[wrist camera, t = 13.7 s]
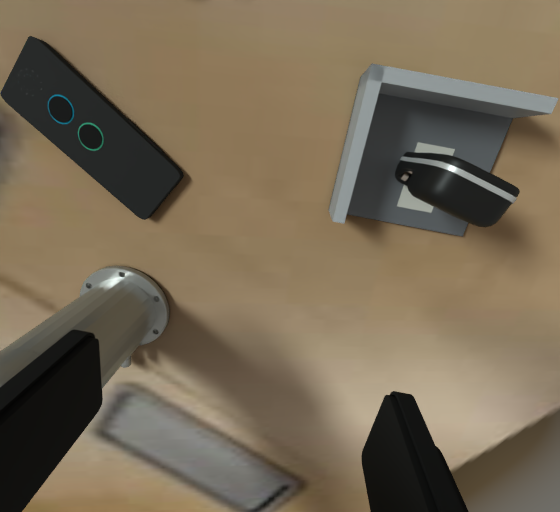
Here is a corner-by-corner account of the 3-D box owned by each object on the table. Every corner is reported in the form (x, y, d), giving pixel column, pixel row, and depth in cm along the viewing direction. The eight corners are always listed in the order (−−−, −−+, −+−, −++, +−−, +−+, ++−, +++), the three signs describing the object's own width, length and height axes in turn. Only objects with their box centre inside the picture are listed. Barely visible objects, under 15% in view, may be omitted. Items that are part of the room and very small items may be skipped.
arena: (460, 234, 35) (487, 250, 30) (328, 209, 35) (332, 221, 30) (514, 106, 30) (558, 98, 25) (360, 77, 30) (371, 63, 25)
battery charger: (384, 182, 33) (421, 200, 22) (403, 149, 32) (452, 152, 21) (437, 208, 34) (499, 239, 23) (458, 177, 32) (534, 194, 22)
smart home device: (29, 30, 30) (182, 174, 34) (43, 36, 32) (188, 172, 36) (-4, 96, 32) (142, 223, 36) (11, 98, 34) (149, 219, 38)
